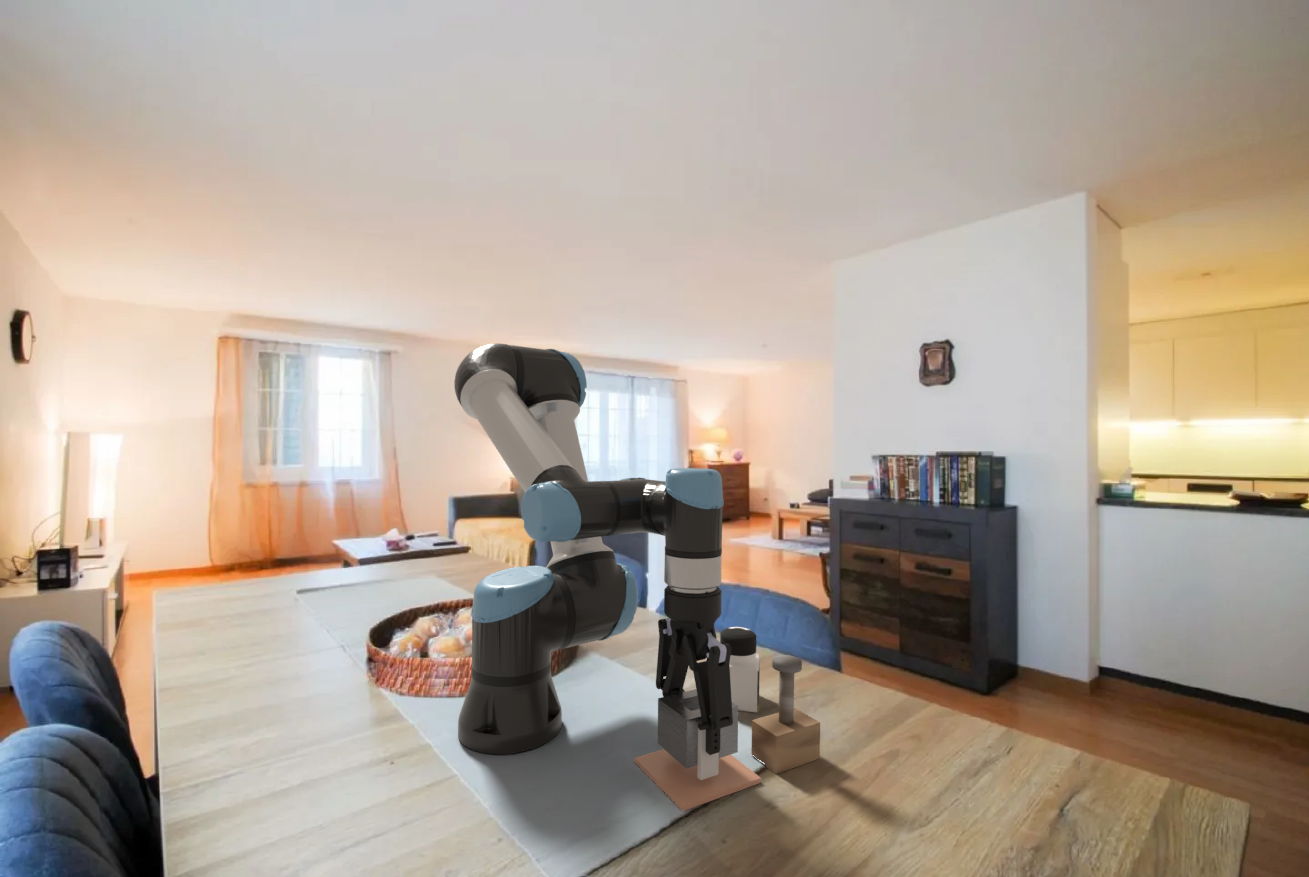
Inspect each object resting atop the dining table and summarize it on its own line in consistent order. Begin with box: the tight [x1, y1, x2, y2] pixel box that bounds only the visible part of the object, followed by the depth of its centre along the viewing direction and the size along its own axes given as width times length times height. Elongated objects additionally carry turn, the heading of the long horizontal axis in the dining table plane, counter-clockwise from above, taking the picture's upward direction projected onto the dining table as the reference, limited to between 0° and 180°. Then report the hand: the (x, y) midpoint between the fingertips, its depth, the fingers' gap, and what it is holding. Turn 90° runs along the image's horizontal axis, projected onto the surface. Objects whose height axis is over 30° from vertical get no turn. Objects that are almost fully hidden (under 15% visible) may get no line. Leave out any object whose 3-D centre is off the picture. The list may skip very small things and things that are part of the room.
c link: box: [657, 688, 739, 769], centre depth 77 cm, size 8×7×6 cm
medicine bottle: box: [719, 626, 761, 713], centre depth 99 cm, size 7×7×12 cm
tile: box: [634, 748, 762, 812], centre depth 77 cm, size 12×12×1 cm
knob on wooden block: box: [750, 654, 821, 775], centre depth 81 cm, size 5×8×14 cm, turn 120°
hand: (690, 760), depth 77 cm, fingers closed on c link, 7 cm apart
